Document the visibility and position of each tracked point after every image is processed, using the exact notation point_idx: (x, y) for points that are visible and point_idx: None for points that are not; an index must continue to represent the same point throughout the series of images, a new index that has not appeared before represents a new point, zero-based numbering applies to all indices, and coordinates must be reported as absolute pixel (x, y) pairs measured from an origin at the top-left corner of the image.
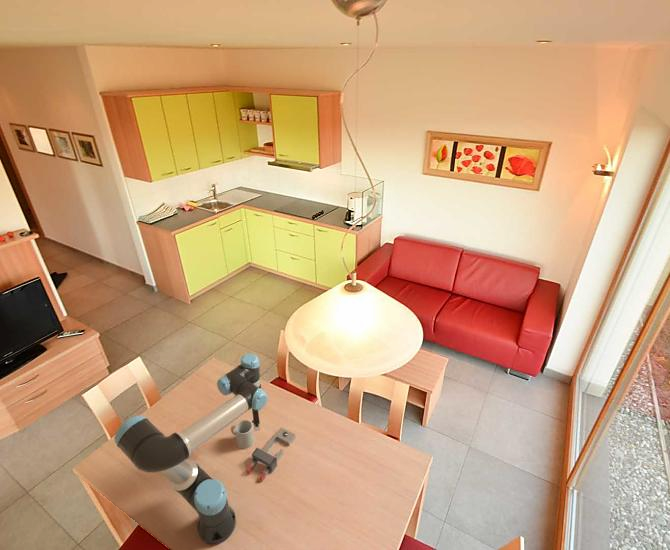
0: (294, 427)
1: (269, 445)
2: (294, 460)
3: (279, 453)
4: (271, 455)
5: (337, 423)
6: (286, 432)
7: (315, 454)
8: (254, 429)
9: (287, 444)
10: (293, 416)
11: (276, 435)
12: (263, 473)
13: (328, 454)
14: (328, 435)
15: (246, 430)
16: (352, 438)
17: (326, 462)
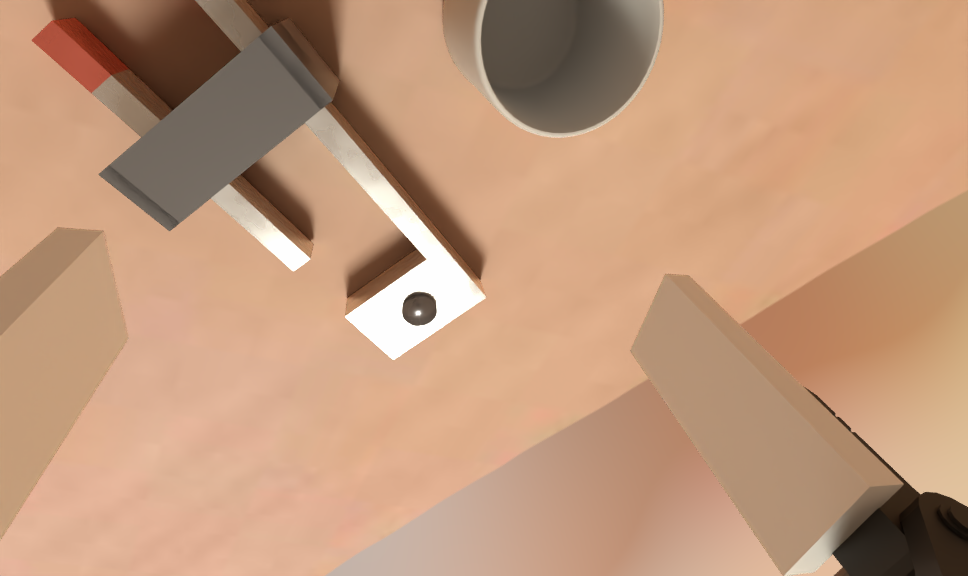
0: (465, 349)
1: (368, 193)
2: (224, 301)
3: (272, 242)
4: (208, 199)
5: (396, 511)
6: (426, 321)
7: (239, 405)
8: (32, 263)
9: (358, 292)
10: (539, 358)
11: (434, 258)
12: (94, 74)
13: (222, 455)
14: (342, 473)
15: (581, 55)
16: (289, 544)
17: (170, 440)
